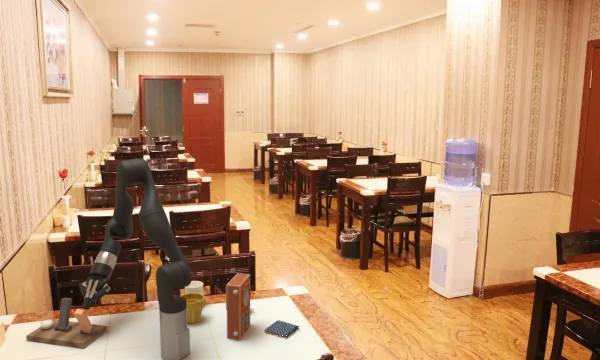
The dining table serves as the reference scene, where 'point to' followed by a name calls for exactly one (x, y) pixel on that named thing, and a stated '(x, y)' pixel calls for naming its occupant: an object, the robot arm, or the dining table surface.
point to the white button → (46, 324)
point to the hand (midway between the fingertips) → (85, 308)
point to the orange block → (83, 321)
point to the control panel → (238, 306)
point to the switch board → (67, 335)
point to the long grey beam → (64, 313)
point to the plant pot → (194, 306)
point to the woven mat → (281, 329)
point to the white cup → (194, 287)
